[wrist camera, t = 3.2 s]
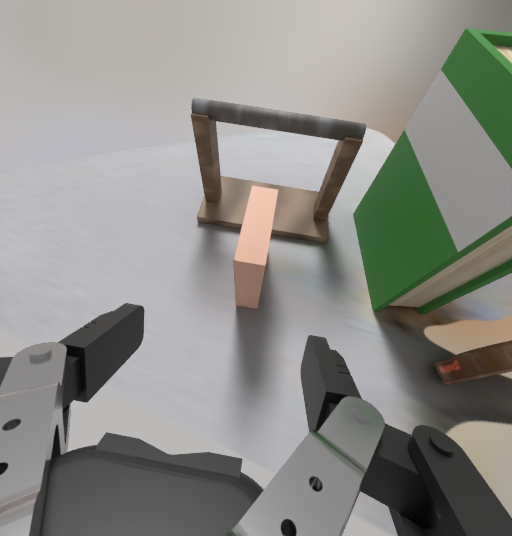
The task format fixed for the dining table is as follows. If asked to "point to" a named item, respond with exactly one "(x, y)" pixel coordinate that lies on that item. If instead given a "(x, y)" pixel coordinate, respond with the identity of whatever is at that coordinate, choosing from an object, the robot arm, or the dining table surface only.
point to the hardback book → (446, 186)
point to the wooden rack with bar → (288, 199)
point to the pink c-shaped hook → (254, 246)
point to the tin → (476, 363)
